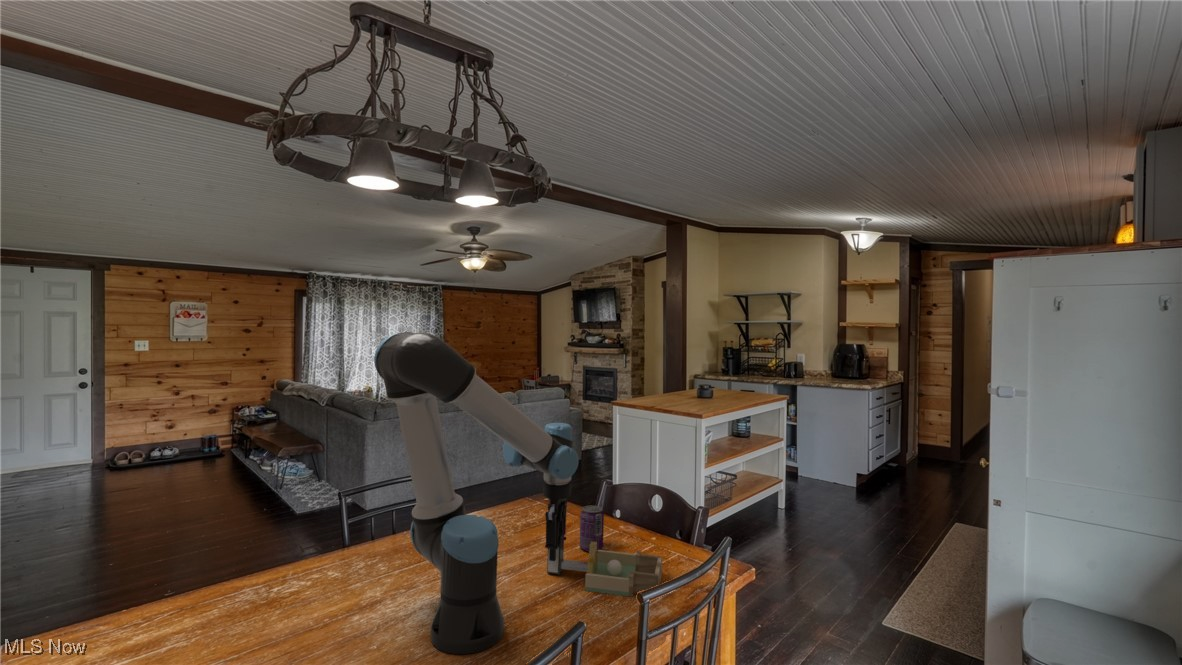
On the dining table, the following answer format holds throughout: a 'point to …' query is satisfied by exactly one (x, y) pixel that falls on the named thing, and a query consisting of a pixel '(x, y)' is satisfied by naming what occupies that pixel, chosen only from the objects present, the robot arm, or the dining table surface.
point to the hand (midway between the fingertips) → (555, 568)
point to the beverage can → (591, 527)
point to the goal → (645, 573)
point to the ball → (614, 568)
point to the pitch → (604, 580)
